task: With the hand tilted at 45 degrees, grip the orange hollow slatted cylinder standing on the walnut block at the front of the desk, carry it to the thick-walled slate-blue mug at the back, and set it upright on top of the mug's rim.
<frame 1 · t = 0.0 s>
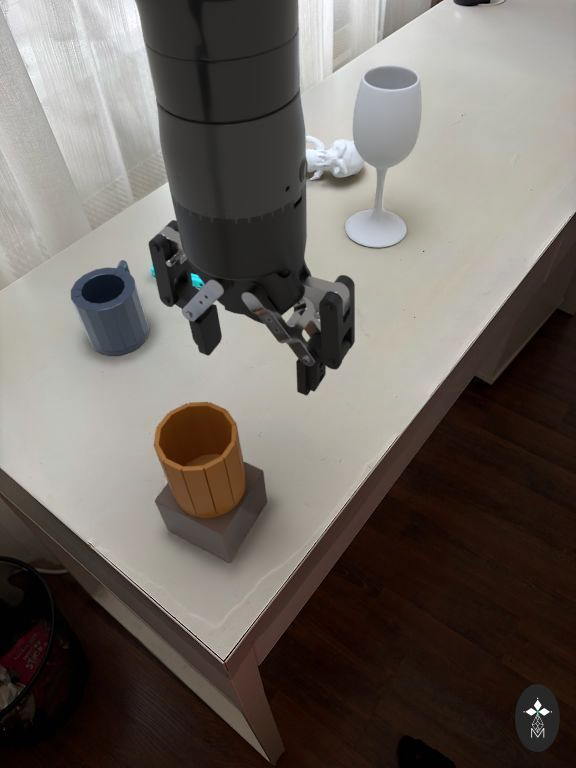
hand: (258, 366, 45), 18 cm above the table, tool pointing down, fingers open, 8 cm apart
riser: (218, 515, 57), on the table
wineglass: (375, 230, 84), on the table
handheld game console: (210, 249, 83), on the table
mug: (119, 334, 73), on the table
figurine: (324, 173, 94), on the table
orange hollow slatted cylinder: (209, 485, 52), point 6 cm above the table, touching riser
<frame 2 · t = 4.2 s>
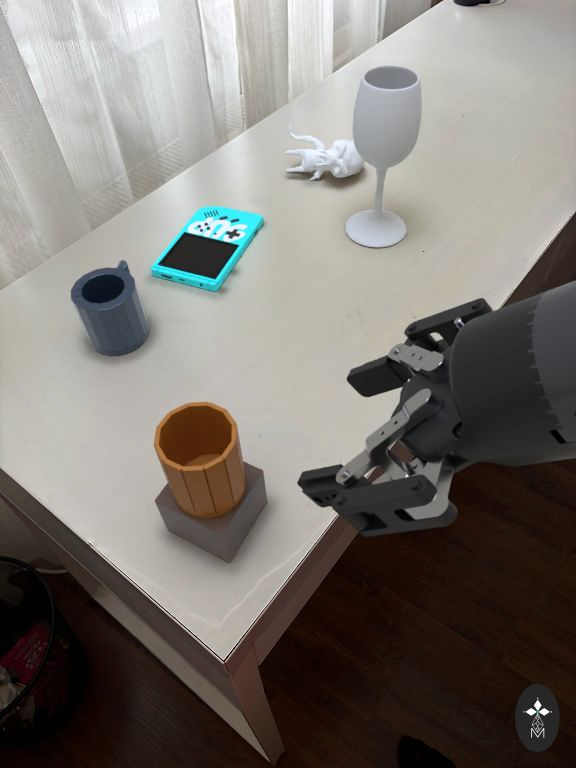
hand: (333, 433, 38), 20 cm above the table, tool tilted 45°, fingers open, 8 cm apart
nothing on the table moved.
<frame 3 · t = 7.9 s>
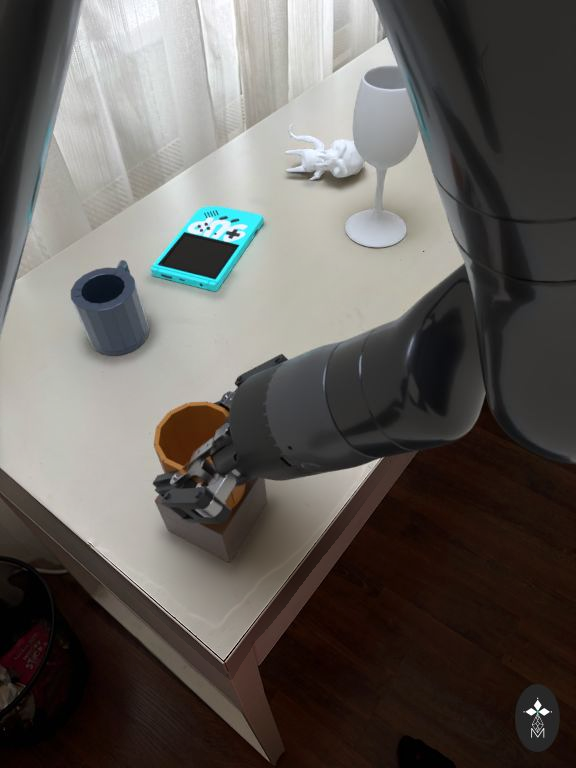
hand: (185, 452, 49), 10 cm above the table, tool tilted 45°, fingers closed on orange hollow slatted cylinder, 6 cm apart
orange hollow slatted cylinder: (209, 485, 52), point 6 cm above the table, touching gripper, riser
everything else where it was.
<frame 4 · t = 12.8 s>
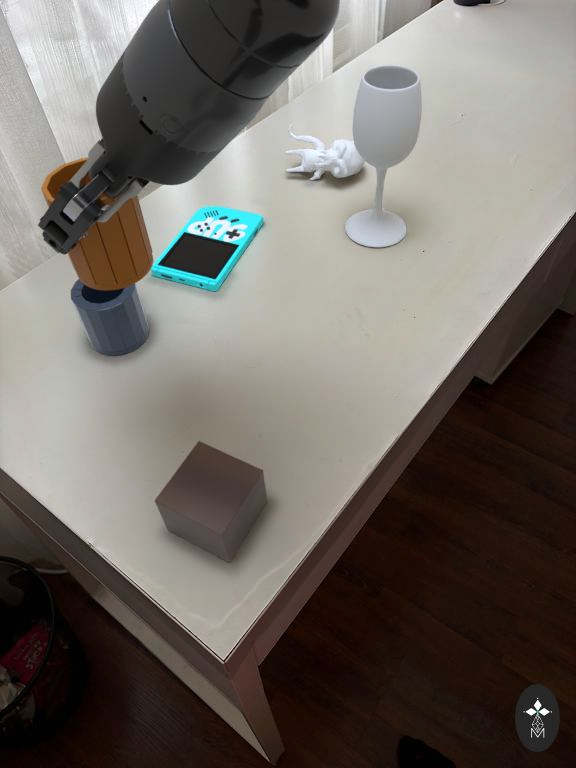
hand: (83, 216, 47), 24 cm above the table, tool tilted 45°, fingers closed on orange hollow slatted cylinder, 6 cm apart
orange hollow slatted cylinder: (115, 264, 50), point 20 cm above the table, touching gripper
everything else where it was.
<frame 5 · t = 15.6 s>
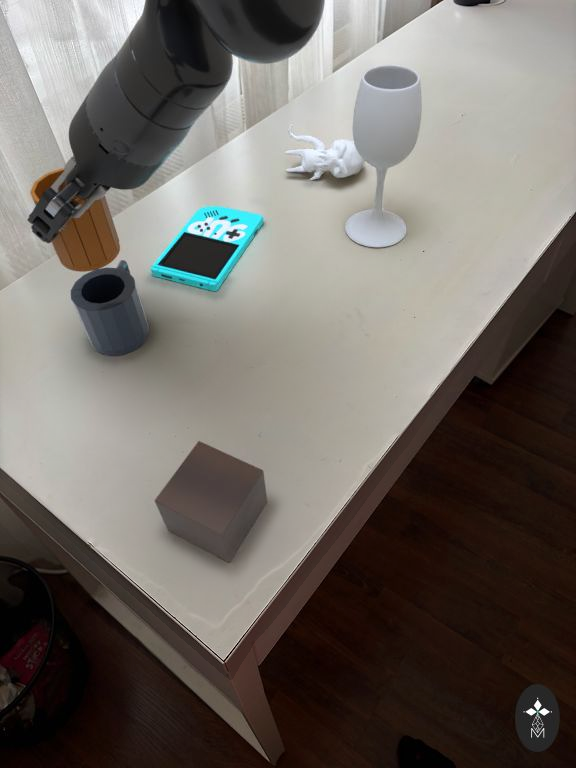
hand: (63, 214, 60), 17 cm above the table, tool tilted 45°, fingers closed on orange hollow slatted cylinder, 6 cm apart
orange hollow slatted cylinder: (90, 252, 63), point 13 cm above the table, touching gripper
everything else where it was.
when the fingers open (12 cm above the table, at t = 17.9 s): orange hollow slatted cylinder stays where it is, resting on mug.
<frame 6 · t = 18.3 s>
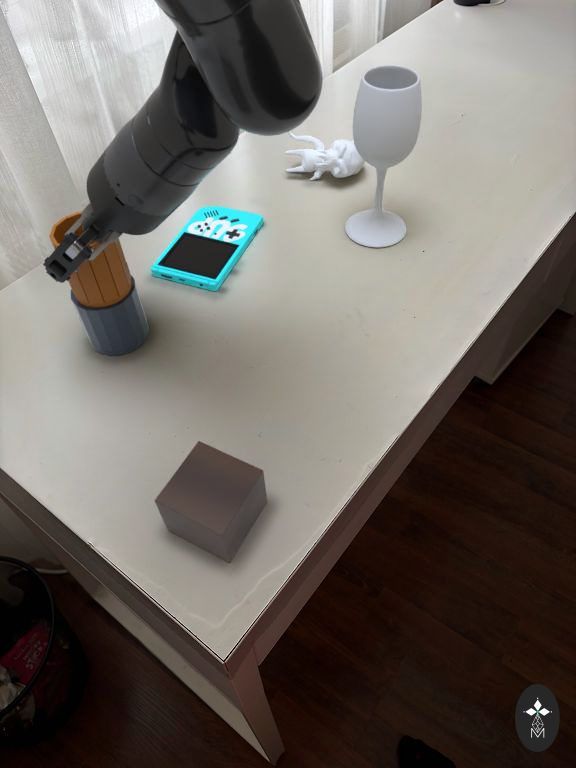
hand: (79, 250, 63), 13 cm above the table, tool tilted 45°, fingers open, 8 cm apart
orange hollow slatted cylinder: (103, 288, 67), point 7 cm above the table, touching mug
everything else where it was.
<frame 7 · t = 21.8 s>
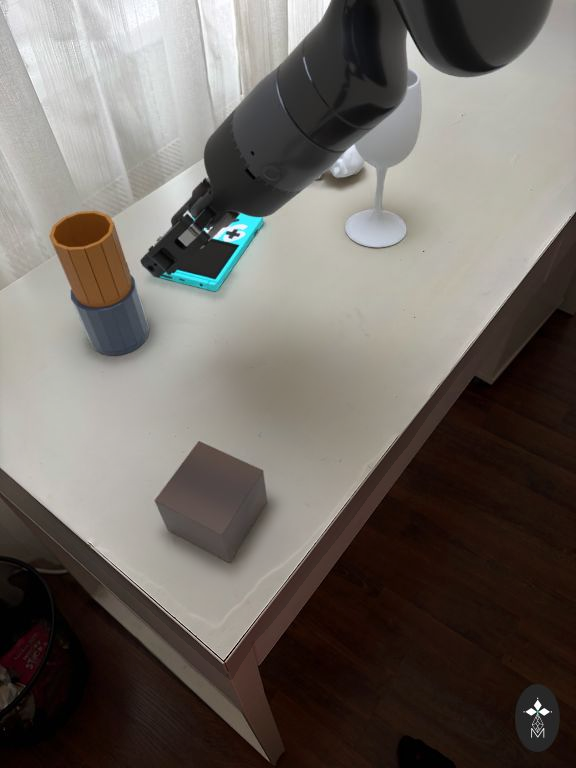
hand: (173, 240, 55), 18 cm above the table, tool tilted 45°, fingers open, 8 cm apart
nothing on the table moved.
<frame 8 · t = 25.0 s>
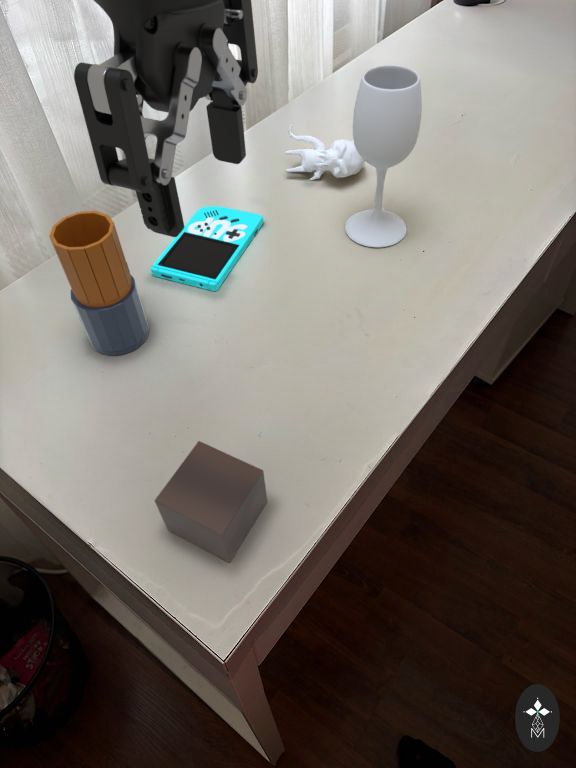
hand: (200, 193, 38), 30 cm above the table, tool pointing down, fingers open, 8 cm apart
nothing on the table moved.
at the end: orange hollow slatted cylinder 0.1 cm off-centre on the mug, point 7.5 cm above the mug's base; orange hollow slatted cylinder tilted 0°; orange hollow slatted cylinder touching mug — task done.
